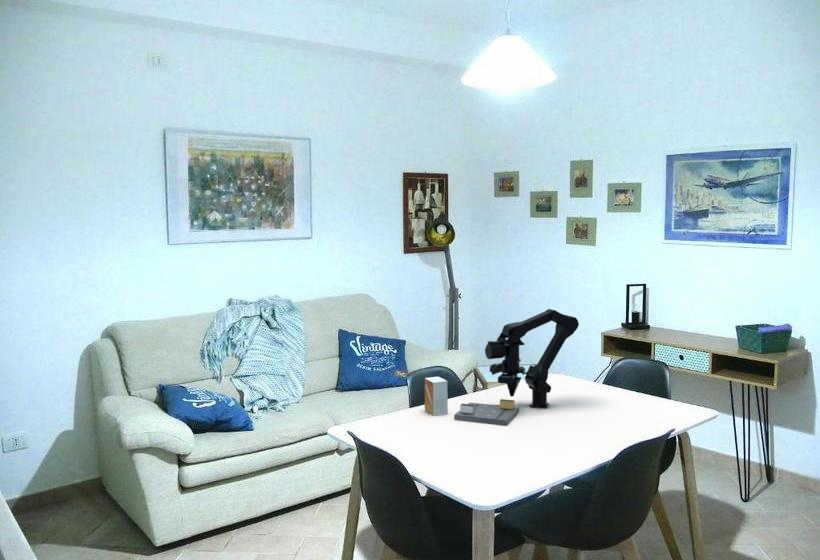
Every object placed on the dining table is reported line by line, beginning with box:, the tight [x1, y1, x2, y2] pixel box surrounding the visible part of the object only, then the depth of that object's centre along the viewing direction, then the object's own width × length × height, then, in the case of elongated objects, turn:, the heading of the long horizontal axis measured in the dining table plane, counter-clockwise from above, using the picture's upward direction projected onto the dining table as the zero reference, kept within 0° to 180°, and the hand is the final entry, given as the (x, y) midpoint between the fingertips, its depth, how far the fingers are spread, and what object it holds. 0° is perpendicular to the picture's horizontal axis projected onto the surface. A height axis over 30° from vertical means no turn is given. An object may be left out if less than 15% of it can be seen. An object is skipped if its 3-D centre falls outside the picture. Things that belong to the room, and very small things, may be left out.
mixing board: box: [453, 402, 520, 427], centre depth 274 cm, size 18×20×2 cm
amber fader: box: [499, 398, 516, 409], centre depth 277 cm, size 3×5×3 cm, turn 67°
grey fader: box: [459, 403, 475, 414], centre depth 271 cm, size 3×5×3 cm, turn 67°
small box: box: [424, 376, 449, 416], centre depth 279 cm, size 8×6×13 cm
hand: (511, 396), depth 283 cm, fingers closed
